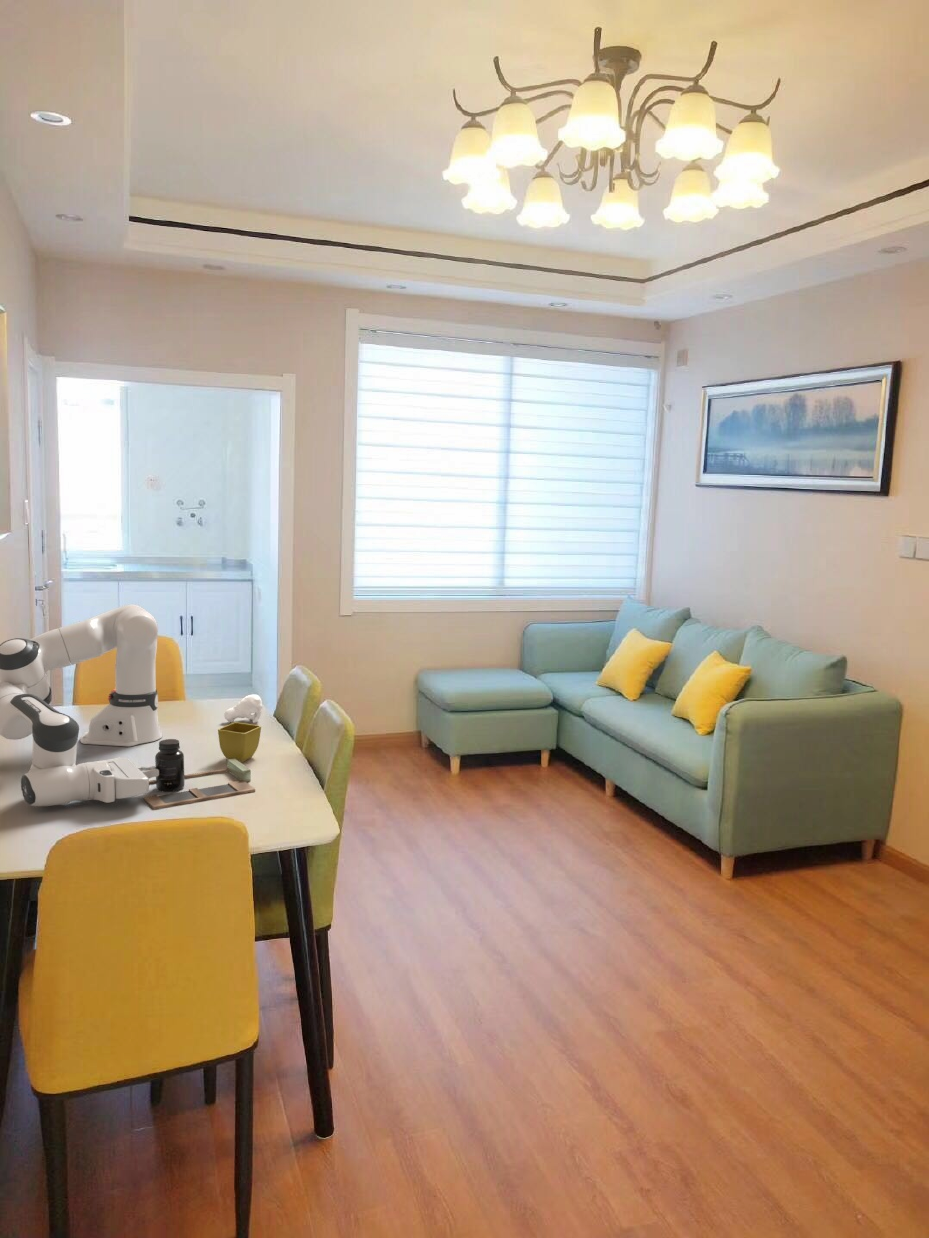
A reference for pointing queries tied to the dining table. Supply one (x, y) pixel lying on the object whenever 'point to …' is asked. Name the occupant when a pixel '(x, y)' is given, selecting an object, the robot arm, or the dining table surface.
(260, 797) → the dining table surface
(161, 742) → the supplement bottle
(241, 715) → the white lumpy piece
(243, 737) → the flower pot
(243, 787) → the board
